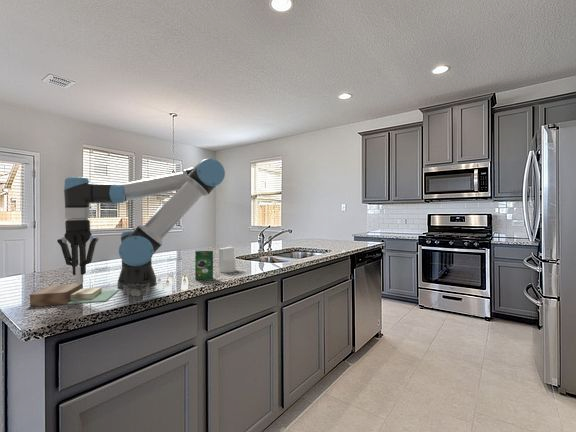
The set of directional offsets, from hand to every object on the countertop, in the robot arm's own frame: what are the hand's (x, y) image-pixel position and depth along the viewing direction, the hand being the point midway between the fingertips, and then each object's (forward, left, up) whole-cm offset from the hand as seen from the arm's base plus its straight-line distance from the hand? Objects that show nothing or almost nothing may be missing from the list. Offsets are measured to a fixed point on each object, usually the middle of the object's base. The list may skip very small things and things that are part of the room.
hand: (79, 283), depth 117 cm
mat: (-5, 0, -5) cm, 7 cm away
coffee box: (-44, -20, -6) cm, 49 cm away
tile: (-2, 0, -5) cm, 5 cm away
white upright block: (-55, -37, -6) cm, 67 cm away
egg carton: (-19, -2, -6) cm, 20 cm away
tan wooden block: (+7, 0, -5) cm, 9 cm away
